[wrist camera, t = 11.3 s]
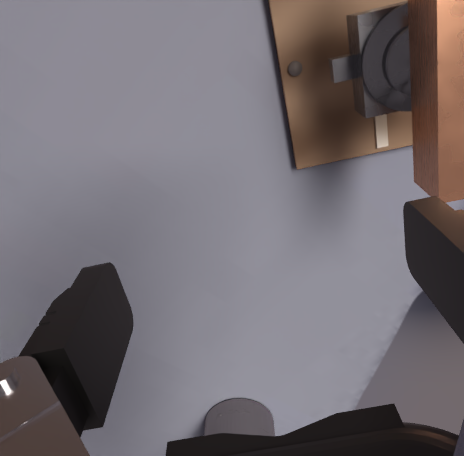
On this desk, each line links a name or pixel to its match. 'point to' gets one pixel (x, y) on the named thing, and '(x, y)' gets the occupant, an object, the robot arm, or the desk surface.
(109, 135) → the desk surface
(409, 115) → the post base
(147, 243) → the desk surface
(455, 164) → the lever handle
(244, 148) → the desk surface
